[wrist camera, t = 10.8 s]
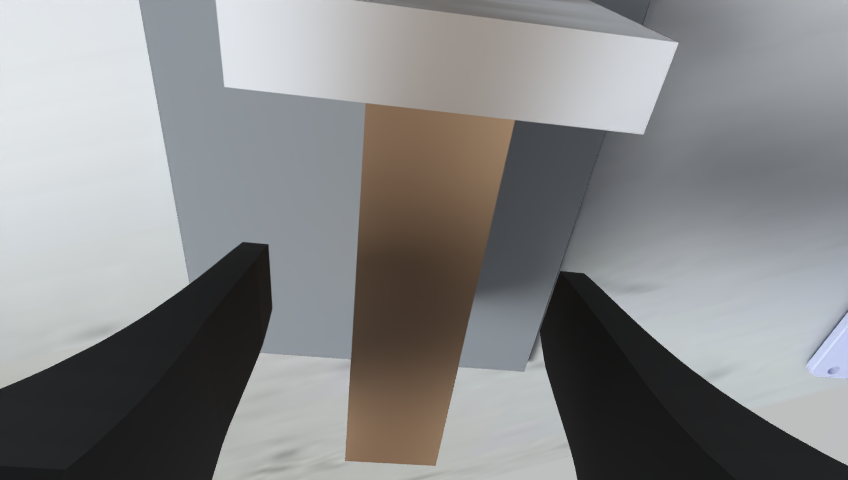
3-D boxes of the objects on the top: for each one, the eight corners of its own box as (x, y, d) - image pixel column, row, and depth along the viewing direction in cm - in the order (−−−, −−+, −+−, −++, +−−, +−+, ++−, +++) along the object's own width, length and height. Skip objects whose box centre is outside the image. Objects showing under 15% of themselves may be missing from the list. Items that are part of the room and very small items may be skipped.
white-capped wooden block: (563, -12, 13) (678, 42, 8) (484, 305, 20) (514, 469, 14) (304, -48, 13) (213, -19, 7) (308, 291, 19) (261, 456, 13)
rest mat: (653, -38, 14) (662, -37, 13) (521, 361, 22) (524, 371, 22) (129, -114, 12) (118, -115, 12) (206, 338, 21) (201, 348, 21)
